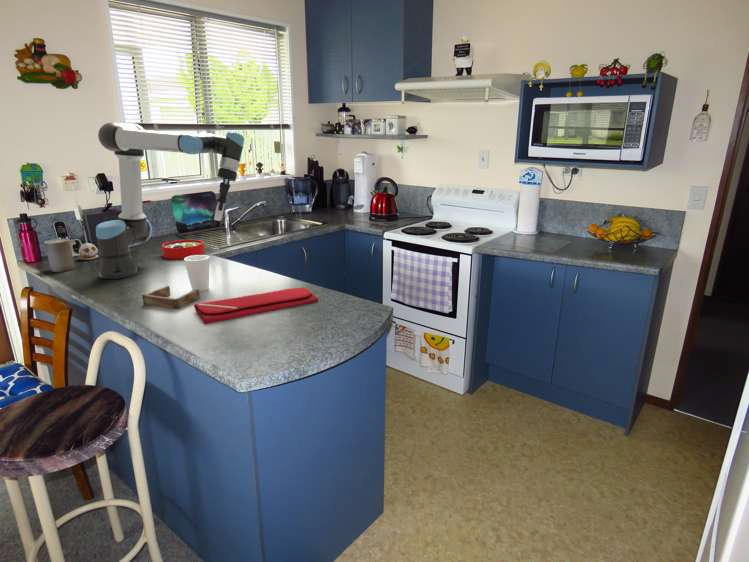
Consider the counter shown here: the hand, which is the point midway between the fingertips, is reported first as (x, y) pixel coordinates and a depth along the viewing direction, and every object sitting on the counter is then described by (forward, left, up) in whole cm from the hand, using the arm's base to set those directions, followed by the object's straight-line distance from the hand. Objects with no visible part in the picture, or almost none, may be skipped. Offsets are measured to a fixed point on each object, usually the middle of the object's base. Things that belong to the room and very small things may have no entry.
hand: (217, 219), depth 200 cm
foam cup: (+1, -16, -26) cm, 30 cm away
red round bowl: (-47, +29, -26) cm, 61 cm away
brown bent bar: (+1, -31, -25) cm, 40 cm away
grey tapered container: (-80, -13, -26) cm, 85 cm away
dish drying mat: (+34, -25, -26) cm, 50 cm away
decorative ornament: (-86, +6, -26) cm, 90 cm away
